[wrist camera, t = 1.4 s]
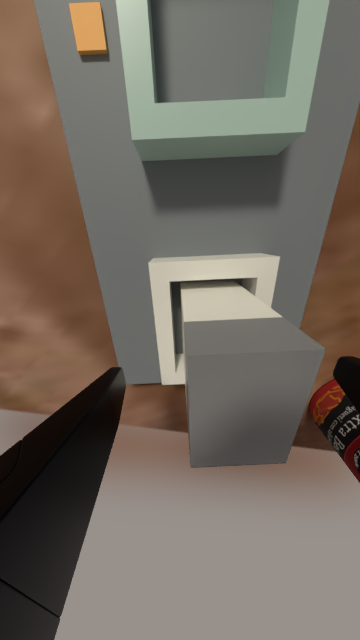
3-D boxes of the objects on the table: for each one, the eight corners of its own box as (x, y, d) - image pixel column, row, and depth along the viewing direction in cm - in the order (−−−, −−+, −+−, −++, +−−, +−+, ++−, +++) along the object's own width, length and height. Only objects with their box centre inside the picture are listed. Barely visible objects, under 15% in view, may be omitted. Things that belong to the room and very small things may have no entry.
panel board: (397, -154, 7) (463, -272, 5) (277, 365, 17) (288, 378, 15) (20, -137, 7) (-28, -249, 5) (127, 372, 17) (122, 386, 15)
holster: (261, 253, 11) (280, 256, 9) (246, 360, 15) (257, 380, 13) (153, 258, 11) (148, 262, 9) (163, 364, 15) (161, 385, 13)
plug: (233, 280, 12) (325, 349, 5) (228, 344, 14) (285, 463, 7) (180, 282, 12) (187, 355, 5) (182, 347, 14) (190, 467, 7)
